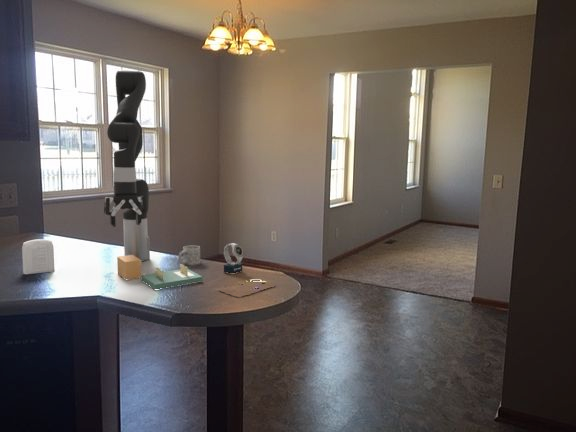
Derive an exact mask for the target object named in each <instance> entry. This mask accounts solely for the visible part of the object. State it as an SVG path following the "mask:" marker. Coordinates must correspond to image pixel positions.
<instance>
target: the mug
mask: <svg viewBox="0 0 576 432" xmlns="http://www.w3.org/2000/svg"><path fill="white" fill-rule="evenodd" d="M182 247H183V249H182V251H180V252H179V254H178V263H179V264H183V265H184V266H198V265H200V264H201V246H200V245H193V244H192V245H191V244H190V245H185V246H182ZM182 256H183V258H182ZM197 264H198V265H197Z"/></svg>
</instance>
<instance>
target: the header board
mask: <svg viewBox="0 0 576 432" xmlns="http://www.w3.org/2000/svg"><path fill="white" fill-rule="evenodd" d="M179 264H180V263H179ZM179 267H180V268H179V269H174V270H168V271H167V270H166V271H164V270H162V269H161V268H159V267H156V268H155V273H147V274H141V275H142V278H141V282H143V281H144V282H145V283H144V282H143V283H144V284H146V283H147V284H148V285H150V286H151V287H152V288H151V287H150V286H149V287H150V288H151V289H153V288H154V289H160V288H166V287H171V286H177V285H182V284H187V283H192V282H198V281H202V282H203V275H200V274H199V273H197V272H194V271H192V270H191V269H189V268H188V266H186V265H184V264H180V265H179ZM147 284H146V285H147ZM148 285H147V286H148ZM154 289H153V290H154ZM166 289H167V288H166Z"/></svg>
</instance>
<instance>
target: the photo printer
mask: <svg viewBox="0 0 576 432" xmlns="http://www.w3.org/2000/svg"><path fill="white" fill-rule="evenodd" d="M21 253H22V271H23V272H22V273H23V274H24V275H33V274H42V273H43V274H44V273H51V272H52V273H53V272H55V252H54V244H53V241H52V240H50V239H44V238H38V239H31V240H27V241H24V242H23V244H22V247H21Z"/></svg>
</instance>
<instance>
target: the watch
mask: <svg viewBox="0 0 576 432" xmlns="http://www.w3.org/2000/svg"><path fill="white" fill-rule="evenodd" d="M230 246H231V252H232V254H233V256H234V257H235V259H236V262H235V261H233V260H232V257H231V256H230V252H229V247H230ZM244 254H245V251H244V248H243V247H242V246H241V245H240V244H238V243H235V242H232V243H228V244H226V245H225V246H224V248H223V257H224V260H225V261H226V264H225V263H224V264H223V273H224V272H228V273H236V272H239V273H241V272H240V271H242V272H243V263H242V260H243V258H244ZM236 274H237V273H236Z"/></svg>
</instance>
